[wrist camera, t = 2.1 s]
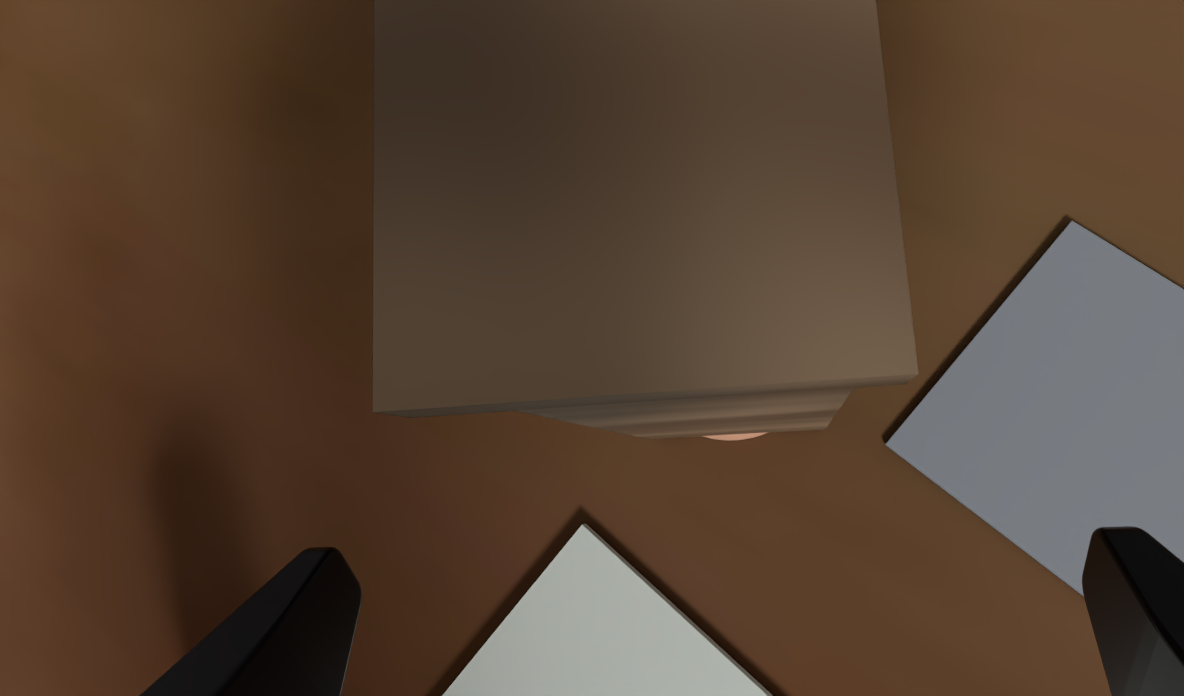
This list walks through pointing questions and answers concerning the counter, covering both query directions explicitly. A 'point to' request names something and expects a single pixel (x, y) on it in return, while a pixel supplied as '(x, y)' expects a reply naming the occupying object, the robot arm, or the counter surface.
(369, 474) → the counter surface
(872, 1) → the tan tall block
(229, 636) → the robot arm
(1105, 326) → the board
